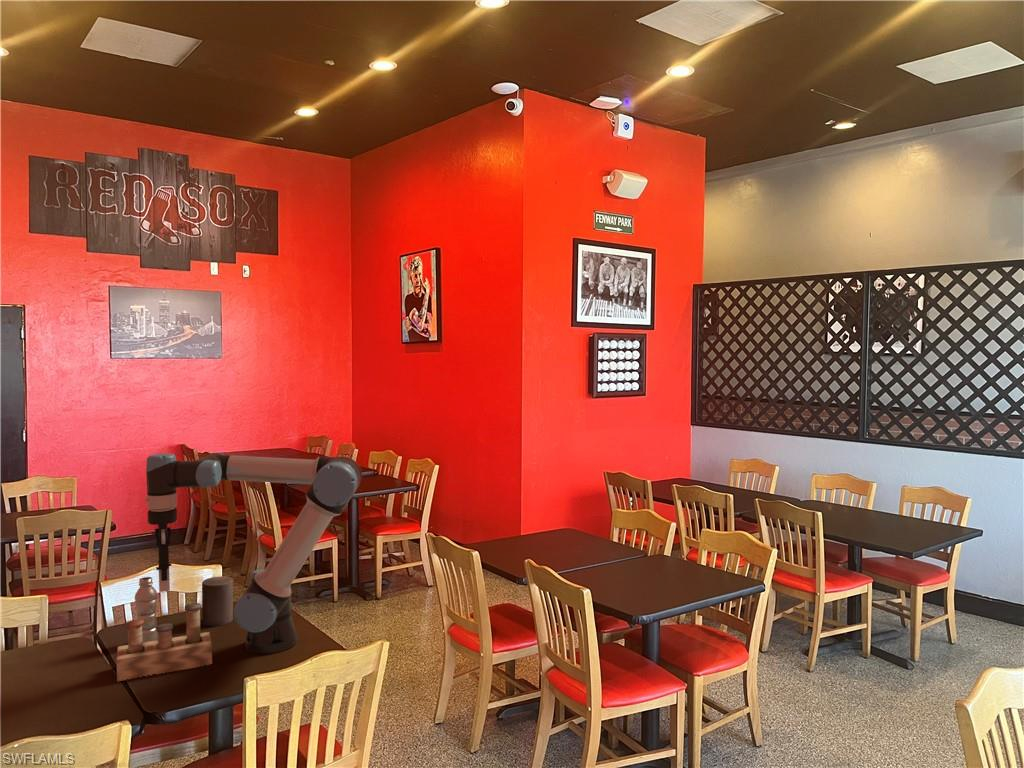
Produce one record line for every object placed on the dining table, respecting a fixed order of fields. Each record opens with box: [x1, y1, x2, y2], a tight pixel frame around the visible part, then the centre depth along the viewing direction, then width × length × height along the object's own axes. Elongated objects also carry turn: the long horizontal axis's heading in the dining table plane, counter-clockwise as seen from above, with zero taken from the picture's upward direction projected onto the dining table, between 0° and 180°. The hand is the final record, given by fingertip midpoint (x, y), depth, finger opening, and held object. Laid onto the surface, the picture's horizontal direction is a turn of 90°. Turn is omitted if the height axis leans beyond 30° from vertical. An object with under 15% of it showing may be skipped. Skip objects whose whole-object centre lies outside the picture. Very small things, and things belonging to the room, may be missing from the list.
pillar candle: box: [201, 575, 234, 627], centre depth 242 cm, size 10×10×15 cm
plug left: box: [184, 602, 202, 644], centre depth 210 cm, size 4×4×11 cm
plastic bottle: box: [134, 576, 158, 642], centre depth 224 cm, size 6×7×20 cm
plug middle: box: [156, 622, 174, 649], centre depth 207 cm, size 4×4×11 cm
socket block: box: [116, 631, 213, 682], centre depth 207 cm, size 24×10×6 cm, turn 117°
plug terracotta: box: [125, 618, 144, 654], centre depth 204 cm, size 4×4×11 cm
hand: (164, 590), depth 207 cm, fingers closed
